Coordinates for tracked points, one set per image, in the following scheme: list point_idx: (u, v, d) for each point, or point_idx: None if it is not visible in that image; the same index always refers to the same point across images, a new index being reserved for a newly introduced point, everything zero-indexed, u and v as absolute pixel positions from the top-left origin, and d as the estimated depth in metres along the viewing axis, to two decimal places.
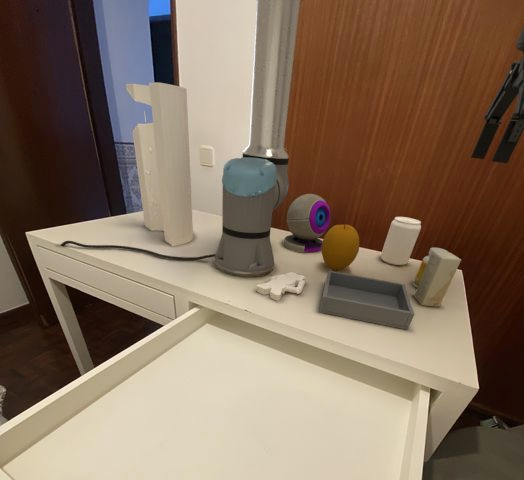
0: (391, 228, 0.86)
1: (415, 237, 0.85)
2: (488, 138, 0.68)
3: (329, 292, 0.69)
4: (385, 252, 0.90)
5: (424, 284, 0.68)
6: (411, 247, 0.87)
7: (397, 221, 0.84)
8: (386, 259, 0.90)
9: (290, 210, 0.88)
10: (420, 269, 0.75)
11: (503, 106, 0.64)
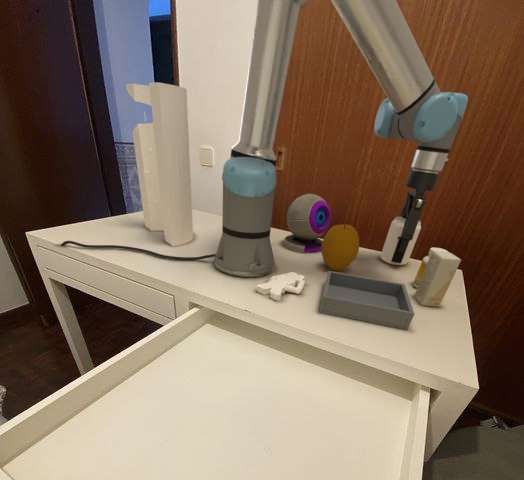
0: (391, 228, 0.86)
1: (415, 237, 0.85)
2: None
3: (329, 292, 0.69)
4: (385, 252, 0.90)
5: (424, 284, 0.68)
6: (411, 247, 0.87)
7: (397, 221, 0.84)
8: (386, 259, 0.90)
9: (290, 210, 0.88)
10: (420, 269, 0.75)
11: None
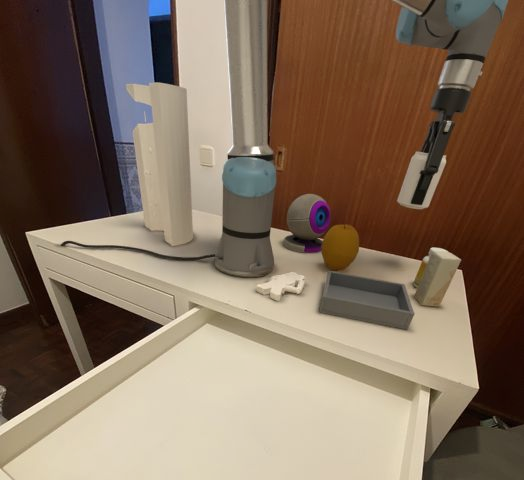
0: (411, 163, 0.75)
1: (439, 173, 0.74)
2: None
3: (329, 292, 0.69)
4: (403, 193, 0.78)
5: (424, 284, 0.68)
6: (434, 186, 0.75)
7: (419, 154, 0.73)
8: (404, 202, 0.78)
9: (290, 210, 0.88)
10: (420, 269, 0.75)
11: None
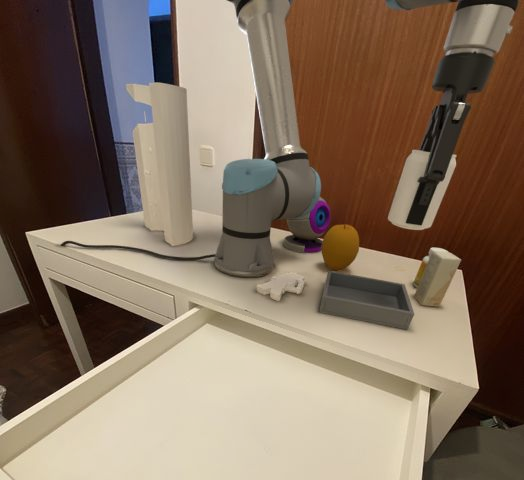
0: (406, 167, 0.53)
1: (446, 180, 0.51)
2: None
3: (329, 292, 0.69)
4: (396, 209, 0.56)
5: (424, 284, 0.68)
6: (439, 198, 0.53)
7: (417, 153, 0.51)
8: (398, 220, 0.56)
9: None
10: (420, 269, 0.75)
11: None
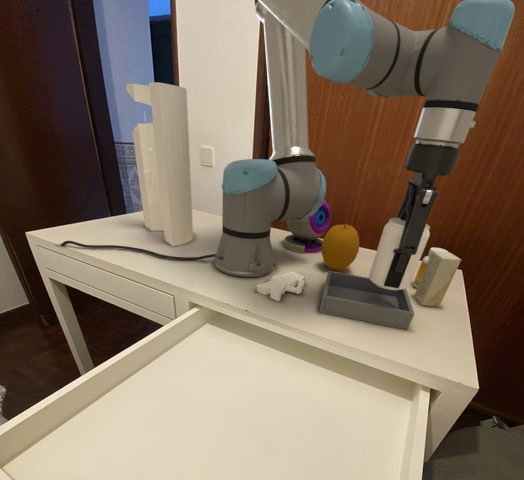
0: (384, 235, 0.56)
1: (421, 249, 0.55)
2: None
3: (329, 292, 0.69)
4: (375, 271, 0.60)
5: (424, 284, 0.68)
6: (414, 264, 0.57)
7: (393, 225, 0.55)
8: (377, 281, 0.60)
9: None
10: (420, 269, 0.75)
11: None
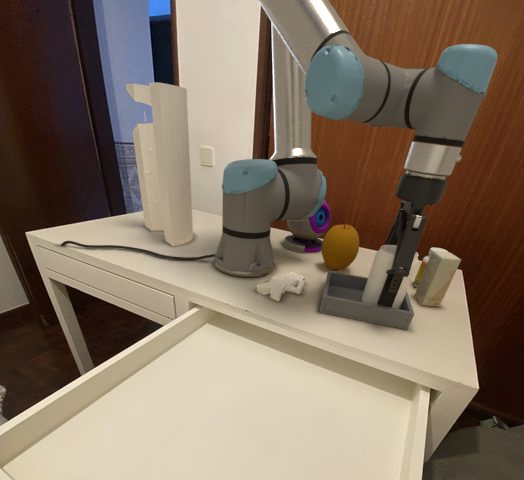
0: (375, 262, 0.60)
1: (410, 276, 0.58)
2: None
3: (329, 292, 0.69)
4: (367, 294, 0.63)
5: (424, 284, 0.68)
6: (404, 289, 0.60)
7: (383, 253, 0.58)
8: None
9: None
10: (420, 269, 0.75)
11: (396, 240, 0.62)
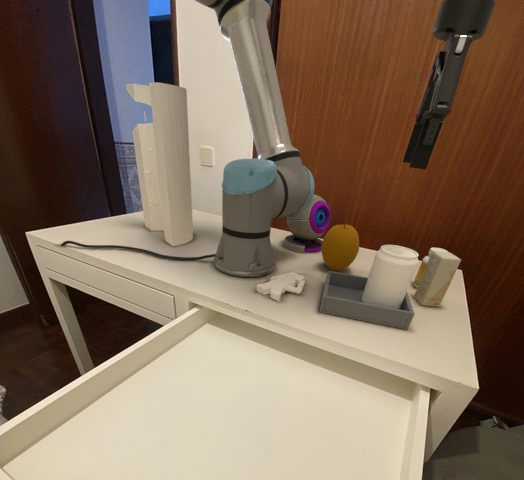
0: (375, 262, 0.60)
1: (410, 276, 0.58)
2: None
3: (329, 292, 0.69)
4: (367, 294, 0.63)
5: (424, 284, 0.68)
6: (404, 289, 0.60)
7: (383, 253, 0.58)
8: None
9: None
10: (420, 269, 0.75)
11: (430, 104, 0.56)
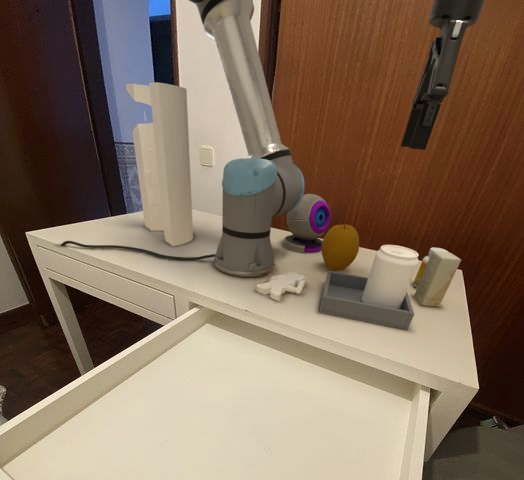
0: (375, 262, 0.60)
1: (410, 276, 0.58)
2: (416, 125, 0.63)
3: (329, 292, 0.69)
4: (367, 294, 0.63)
5: (424, 284, 0.68)
6: (404, 289, 0.60)
7: (383, 253, 0.58)
8: None
9: None
10: (420, 269, 0.75)
11: (426, 89, 0.59)
